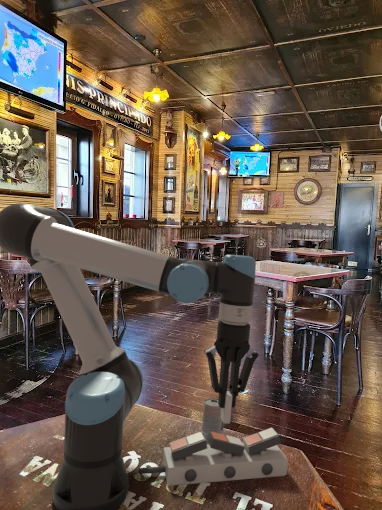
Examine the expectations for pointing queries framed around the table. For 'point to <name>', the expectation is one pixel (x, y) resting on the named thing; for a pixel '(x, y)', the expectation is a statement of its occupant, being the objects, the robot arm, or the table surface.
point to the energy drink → (211, 418)
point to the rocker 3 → (261, 440)
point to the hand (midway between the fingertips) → (225, 420)
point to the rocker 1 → (188, 445)
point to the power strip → (220, 466)
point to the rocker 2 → (225, 443)
